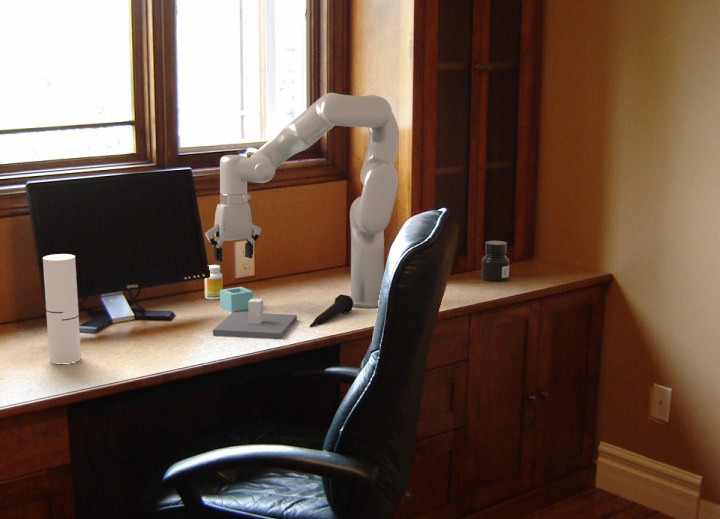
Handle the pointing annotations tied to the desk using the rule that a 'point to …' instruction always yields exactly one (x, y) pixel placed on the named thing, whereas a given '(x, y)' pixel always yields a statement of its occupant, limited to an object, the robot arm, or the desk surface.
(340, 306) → the microphone
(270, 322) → the post board
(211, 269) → the supplement bottle
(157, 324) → the desk surface
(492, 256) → the ink bottle
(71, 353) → the cylindrical container
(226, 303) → the teal hollow cube
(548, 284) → the desk surface
